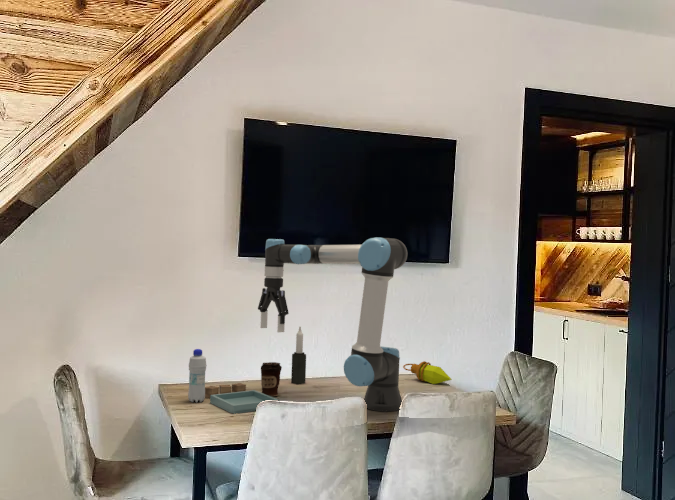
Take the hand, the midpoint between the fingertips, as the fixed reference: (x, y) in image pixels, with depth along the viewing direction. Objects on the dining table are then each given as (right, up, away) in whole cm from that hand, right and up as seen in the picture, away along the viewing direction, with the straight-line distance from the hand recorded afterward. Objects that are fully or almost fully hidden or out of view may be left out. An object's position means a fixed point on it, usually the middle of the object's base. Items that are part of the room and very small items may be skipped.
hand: (272, 330), depth 271 cm
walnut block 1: (-23, -26, -6) cm, 35 cm away
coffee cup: (-1, -27, 0) cm, 27 cm away
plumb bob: (+67, -28, +37) cm, 82 cm away
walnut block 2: (-18, -26, -3) cm, 32 cm away
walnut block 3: (-14, -26, +1) cm, 29 cm away
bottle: (-28, -26, -14) cm, 40 cm away
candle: (+9, -27, +26) cm, 38 cm away
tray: (-9, -26, -18) cm, 33 cm away
